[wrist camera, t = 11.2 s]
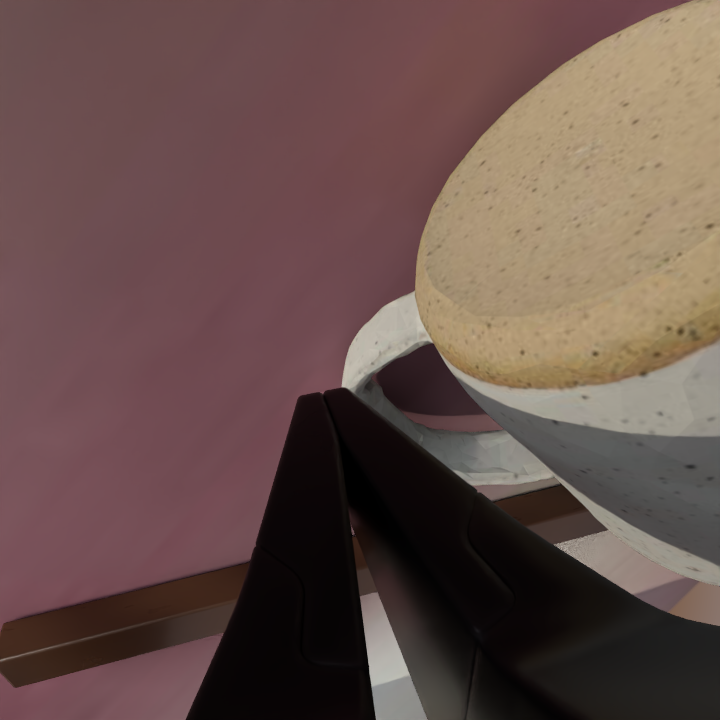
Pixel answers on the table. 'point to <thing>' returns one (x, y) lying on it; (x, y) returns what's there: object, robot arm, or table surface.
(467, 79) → the table surface
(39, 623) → the brown wooden flat frame
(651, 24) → the ceramic mug
